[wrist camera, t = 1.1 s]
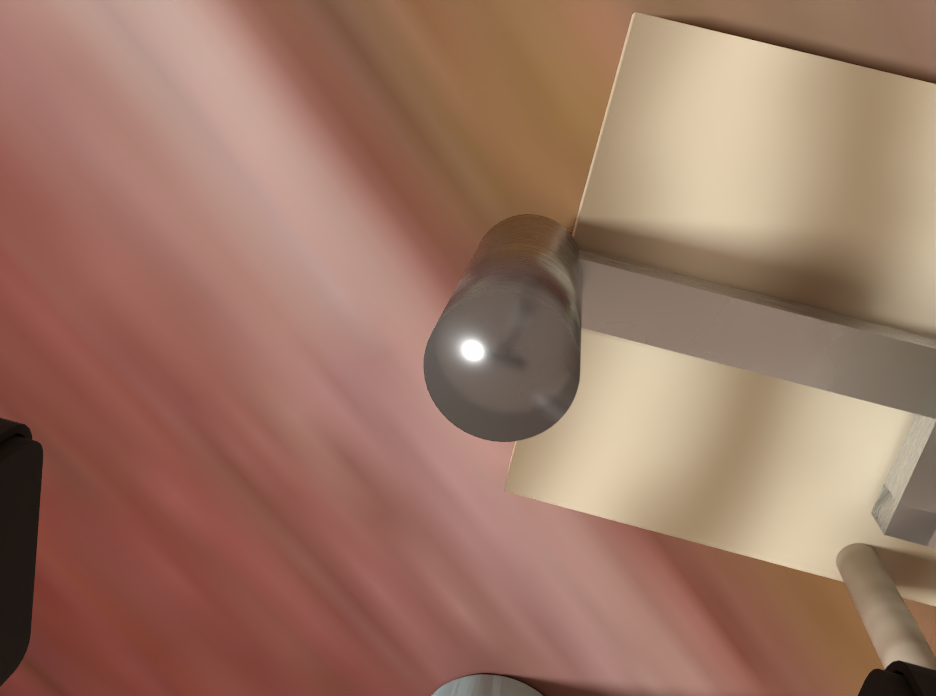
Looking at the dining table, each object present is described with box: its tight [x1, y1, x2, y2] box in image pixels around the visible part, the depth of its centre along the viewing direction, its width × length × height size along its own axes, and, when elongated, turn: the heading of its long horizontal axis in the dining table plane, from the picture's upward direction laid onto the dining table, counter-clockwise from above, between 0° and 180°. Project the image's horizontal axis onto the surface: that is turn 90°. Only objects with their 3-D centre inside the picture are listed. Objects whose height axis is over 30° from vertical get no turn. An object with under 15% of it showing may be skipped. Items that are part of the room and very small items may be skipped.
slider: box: [424, 214, 936, 549], centre depth 20 cm, size 22×9×8 cm, turn 77°
